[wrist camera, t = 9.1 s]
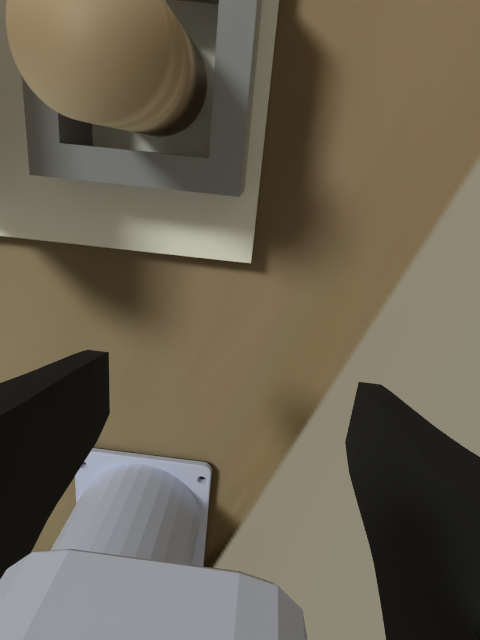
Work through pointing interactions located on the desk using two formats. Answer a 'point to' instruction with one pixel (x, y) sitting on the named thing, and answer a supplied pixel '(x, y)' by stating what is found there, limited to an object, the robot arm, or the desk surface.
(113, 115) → the maple peg
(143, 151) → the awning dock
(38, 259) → the desk surface
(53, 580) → the robot arm
